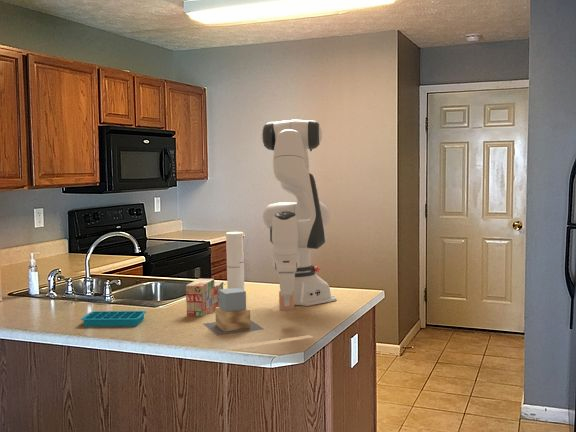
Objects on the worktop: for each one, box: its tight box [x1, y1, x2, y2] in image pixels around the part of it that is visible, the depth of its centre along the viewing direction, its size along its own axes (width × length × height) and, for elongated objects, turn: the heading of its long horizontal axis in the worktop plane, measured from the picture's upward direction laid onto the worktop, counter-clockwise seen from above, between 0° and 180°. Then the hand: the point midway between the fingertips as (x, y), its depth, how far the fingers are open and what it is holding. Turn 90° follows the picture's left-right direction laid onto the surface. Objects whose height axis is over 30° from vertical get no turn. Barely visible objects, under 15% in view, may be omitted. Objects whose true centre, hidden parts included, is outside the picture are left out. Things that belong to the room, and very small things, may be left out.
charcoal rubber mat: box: [203, 319, 265, 337], centre depth 210 cm, size 16×16×1 cm
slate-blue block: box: [219, 288, 247, 312], centre depth 210 cm, size 7×7×6 cm
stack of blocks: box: [185, 278, 224, 318], centre depth 235 cm, size 21×6×12 cm, turn 165°
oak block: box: [214, 307, 251, 331], centre depth 210 cm, size 9×9×6 cm
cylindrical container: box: [225, 231, 245, 291], centre depth 270 cm, size 7×7×25 cm
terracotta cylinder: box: [278, 290, 296, 313], centre depth 209 cm, size 5×5×6 cm
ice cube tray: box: [80, 310, 147, 327], centre depth 222 cm, size 12×20×3 cm, turn 87°
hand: (286, 303), depth 209 cm, fingers closed on terracotta cylinder, 5 cm apart
